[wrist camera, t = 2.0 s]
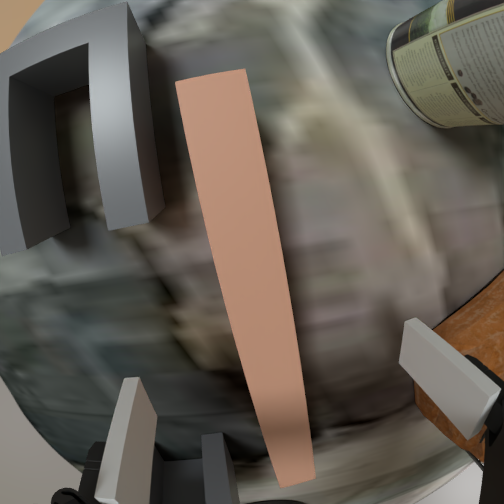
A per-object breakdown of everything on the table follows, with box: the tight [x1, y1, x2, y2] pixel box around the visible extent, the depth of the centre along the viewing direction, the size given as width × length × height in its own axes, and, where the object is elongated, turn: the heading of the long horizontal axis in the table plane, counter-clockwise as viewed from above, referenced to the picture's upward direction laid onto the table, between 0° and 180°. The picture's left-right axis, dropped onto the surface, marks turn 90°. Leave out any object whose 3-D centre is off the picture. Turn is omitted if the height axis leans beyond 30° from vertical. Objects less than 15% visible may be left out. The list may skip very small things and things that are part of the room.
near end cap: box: [0, 2, 165, 256], centre depth 14 cm, size 12×9×6 cm
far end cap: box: [149, 432, 240, 504], centre depth 19 cm, size 6×9×11 cm, turn 98°
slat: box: [175, 69, 316, 488], centre depth 18 cm, size 28×3×7 cm, turn 12°
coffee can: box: [386, 0, 504, 128], centre depth 12 cm, size 10×10×14 cm
